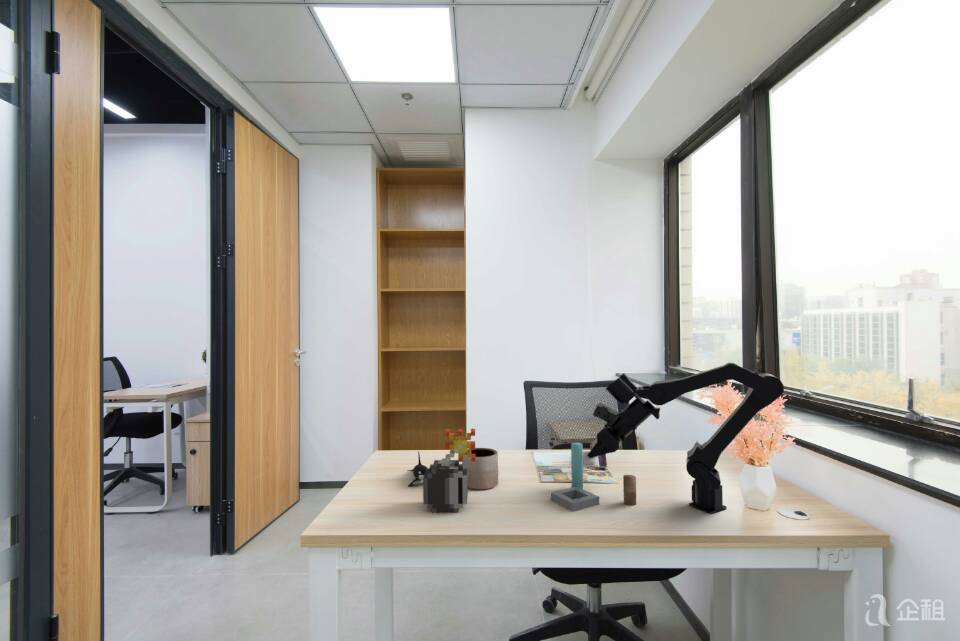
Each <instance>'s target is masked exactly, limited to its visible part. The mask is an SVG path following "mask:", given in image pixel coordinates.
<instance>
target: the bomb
mask: <svg viewBox="0 0 960 641" xmlns="http://www.w3.org/2000/svg"><path fill="white" fill-rule="evenodd" d="M463 433H464V432H463V428H458V429H457V436H456V437H455V432H451V428H445V432H444V437H449V438H448V439H449V440H448V441H445V445H444V447H445V448H444V449H445V450H449V453H446V454H445V458H441V459H435V460H434V461H433V464H430V465H429V467H428V469H426V471H425V474H424V477H423V480H422V500H423V502H422V503H423V504H422V505H427V510H431V514H458V513H459V512H460V510H459V509H464V505H468V492H469V491H468V489H469V488H468V477H467V468H463V464H462V462H463V453H467V457H471V462H475V454H471V450H467V449H475V448H476V441H475V440H474V441H473V440H472V437H475V436H476V428H470V432H467V433H466V436H463V435H464V434H463ZM455 454H457V457H458V458H457V459H453V458H455ZM451 458H452V459H451Z"/></svg>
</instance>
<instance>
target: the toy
mask: <svg viewBox="0 0 960 641" xmlns="http://www.w3.org/2000/svg"><path fill="white" fill-rule="evenodd" d="M417 452H418V455H417V456H418V457H417V458H418V463H417V464H416V465H415V466H414V467H413V468H412V469H408V470H406V471H407V472H413V475H414V477H415V479H414V480H413V481H411V482H410V483H409V484H408V485H407V487H410V486H411V485H412V484H414V483H416V481H418V480H421V481H423V477H424V474H425V471H426V469H429V467H427V466H426V465H423V464H422V462H421V456H420V455H421V454H420V451H419V450H418V451H417Z"/></svg>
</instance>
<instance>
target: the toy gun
mask: <svg viewBox="0 0 960 641" xmlns="http://www.w3.org/2000/svg"><path fill="white" fill-rule="evenodd" d="M596 443H597V437H596V438H595V439H594V440H593V441H592V442H590V445H589V446H590V448H589V450H590V451H591V450H592V448H593V447H594V446H595V444H596ZM597 459H598V468H599V469H601V468H602V469H603V468H604V469H605V468H606V469H607V468H608V463H607V454H604V455H600V456H597Z"/></svg>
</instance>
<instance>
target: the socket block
mask: <svg viewBox="0 0 960 641" xmlns="http://www.w3.org/2000/svg"><path fill="white" fill-rule="evenodd" d="M574 498H575V499H574ZM550 501H552V502H554V503H556V504H558V505H560V506H562V507H563V508H566V509H567V510H569V511H571V512H576V511H579V510H583V509H587V508H591V507H595V506H597V505H600V496H599V495H596V494H594V493H592V492H589V491H588V490H585V489H584V488H583V489H581V488H579V487H577V486H576V487H572V486H571V487H568V488H564V489H559V490H555V491H551V492H550Z"/></svg>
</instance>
